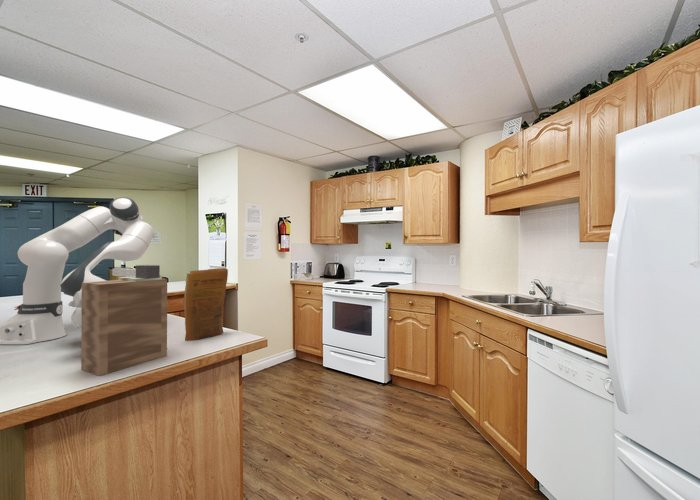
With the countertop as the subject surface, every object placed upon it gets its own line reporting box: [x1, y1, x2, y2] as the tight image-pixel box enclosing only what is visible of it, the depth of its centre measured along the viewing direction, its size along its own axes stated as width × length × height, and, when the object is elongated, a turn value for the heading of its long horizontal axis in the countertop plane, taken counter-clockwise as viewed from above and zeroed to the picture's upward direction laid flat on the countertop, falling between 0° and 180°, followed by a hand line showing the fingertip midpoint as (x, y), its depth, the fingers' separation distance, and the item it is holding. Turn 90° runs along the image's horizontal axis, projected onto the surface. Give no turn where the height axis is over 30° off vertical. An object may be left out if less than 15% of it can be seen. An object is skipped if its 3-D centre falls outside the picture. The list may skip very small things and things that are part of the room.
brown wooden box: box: [80, 276, 168, 377], centre depth 103 cm, size 10×20×27 cm, turn 153°
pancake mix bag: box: [183, 267, 229, 341], centre depth 132 cm, size 7×19×28 cm, turn 142°
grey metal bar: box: [111, 264, 161, 279], centre depth 108 cm, size 21×4×4 cm, turn 63°
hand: (120, 285), depth 111 cm, fingers open, 8 cm apart
